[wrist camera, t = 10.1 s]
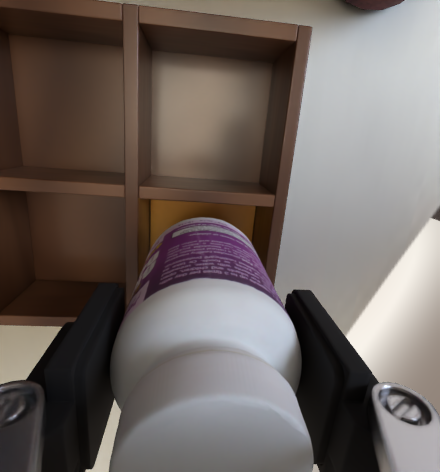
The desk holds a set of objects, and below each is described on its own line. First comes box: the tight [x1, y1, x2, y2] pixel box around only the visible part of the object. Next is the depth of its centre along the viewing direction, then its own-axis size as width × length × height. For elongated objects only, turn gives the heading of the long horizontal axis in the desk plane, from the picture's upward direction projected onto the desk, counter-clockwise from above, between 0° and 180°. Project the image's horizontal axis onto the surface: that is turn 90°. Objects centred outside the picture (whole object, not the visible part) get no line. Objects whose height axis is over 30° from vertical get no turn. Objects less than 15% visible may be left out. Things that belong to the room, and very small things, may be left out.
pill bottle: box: [109, 217, 314, 472], centre depth 10 cm, size 5×5×10 cm
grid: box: [0, 0, 312, 327], centre depth 16 cm, size 14×14×4 cm
